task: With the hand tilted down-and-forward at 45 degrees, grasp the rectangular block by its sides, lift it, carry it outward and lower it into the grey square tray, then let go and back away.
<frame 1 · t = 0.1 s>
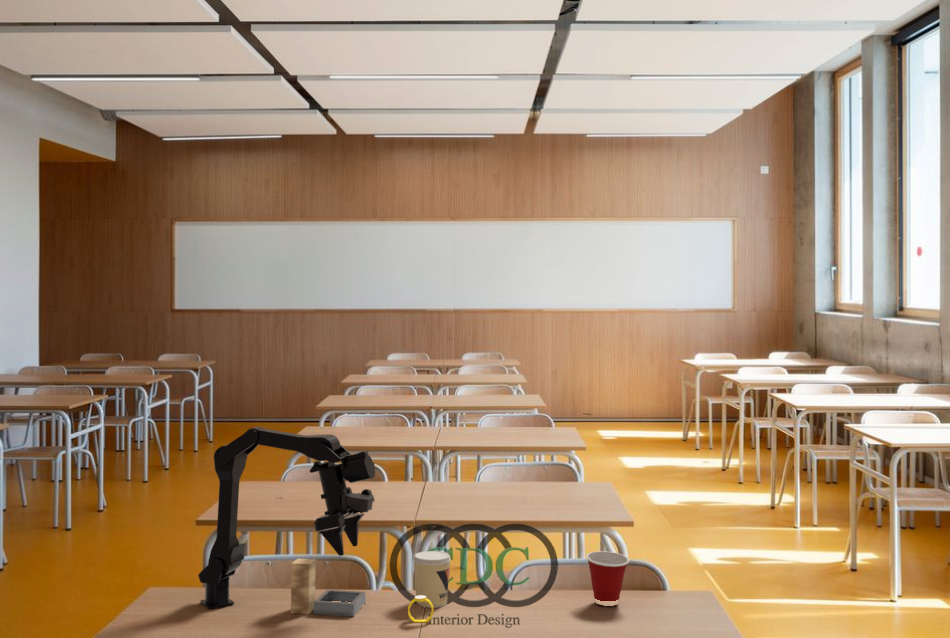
hand: (348, 550, 210), 15 cm above the table, tool pointing down, fingers open, 9 cm apart
rectangular block: (302, 610, 213), on the table
grey square tray: (340, 608, 214), on the table
plastic cup: (607, 604, 221), on the table
coffee cup: (431, 603, 220), on the table
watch: (420, 622, 206), on the table
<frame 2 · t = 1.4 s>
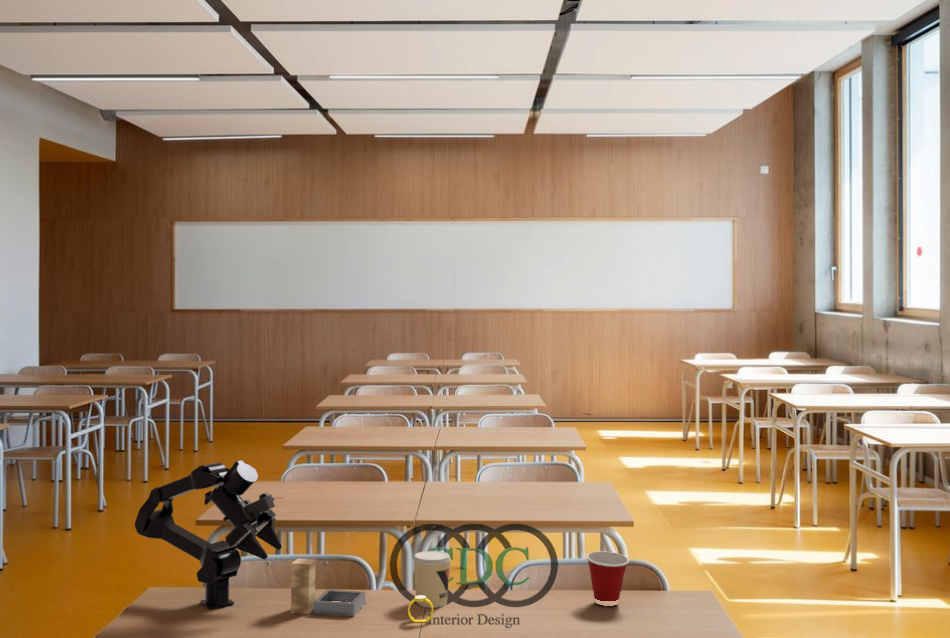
hand: (273, 553, 214), 13 cm above the table, tool tilted 45°, fingers open, 9 cm apart
nothing on the table moved.
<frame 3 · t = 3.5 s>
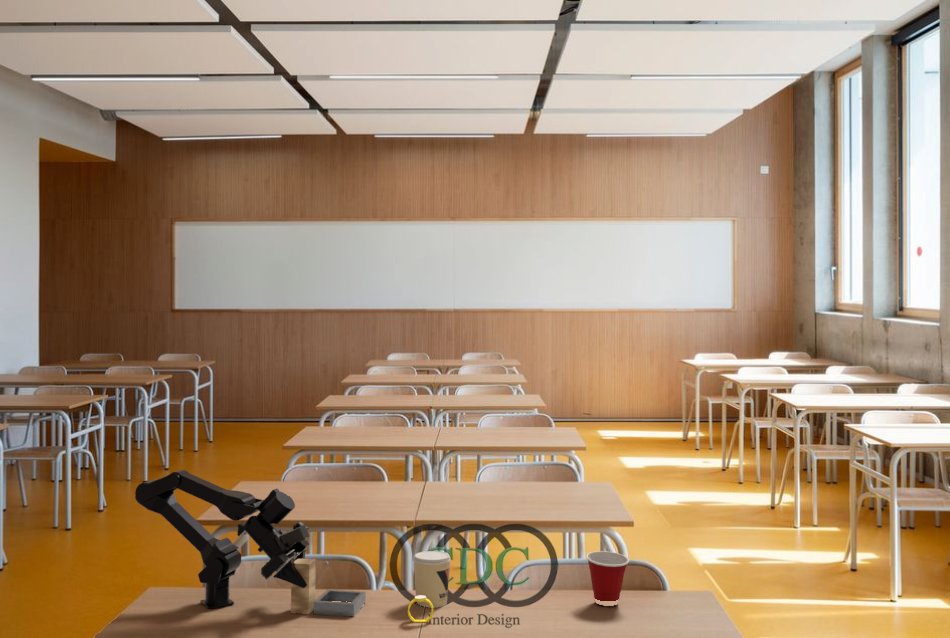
hand: (308, 583, 213), 7 cm above the table, tool tilted 45°, fingers closed on rectangular block, 4 cm apart
rectangular block: (303, 610, 213), on the table, touching gripper
everything else where it was.
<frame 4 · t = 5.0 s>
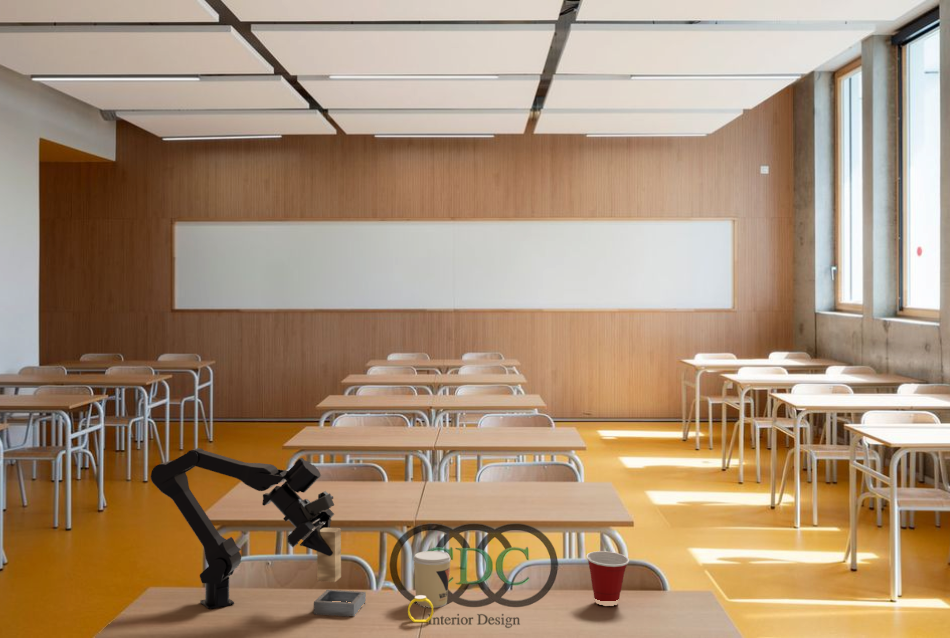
hand: (334, 552, 213), 14 cm above the table, tool tilted 45°, fingers closed on rectangular block, 4 cm apart
rectangular block: (329, 579, 214), point 8 cm above the table, touching gripper
everything else where it was.
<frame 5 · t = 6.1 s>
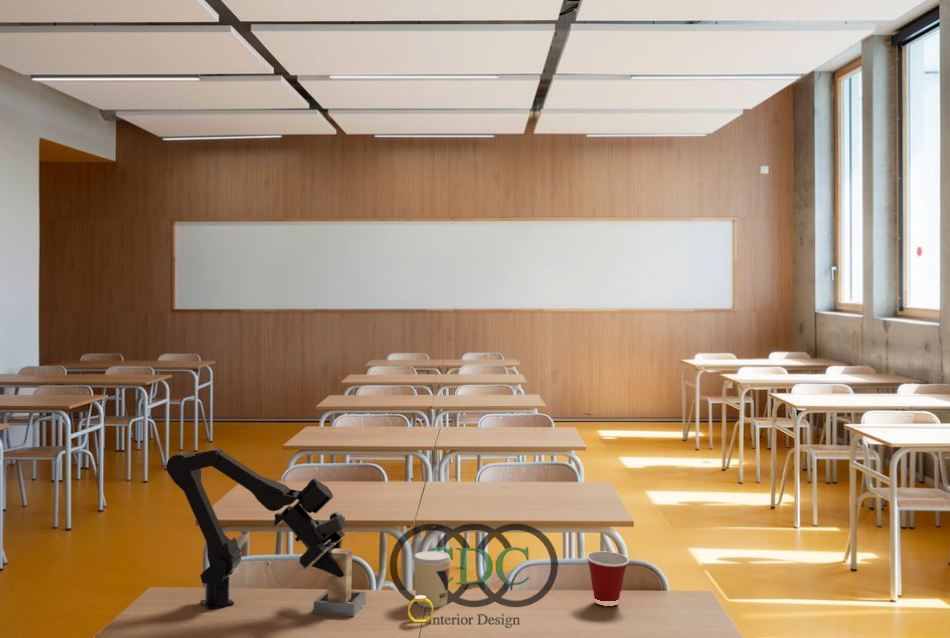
hand: (345, 573, 214), 9 cm above the table, tool tilted 45°, fingers closed on rectangular block, 4 cm apart
rectangular block: (339, 600, 214), point 2 cm above the table, touching gripper
everything else where it was.
when the fingers open (8 cm above the table, at t = 6.6 s): rectangular block drops 1 cm, resting in grey square tray.
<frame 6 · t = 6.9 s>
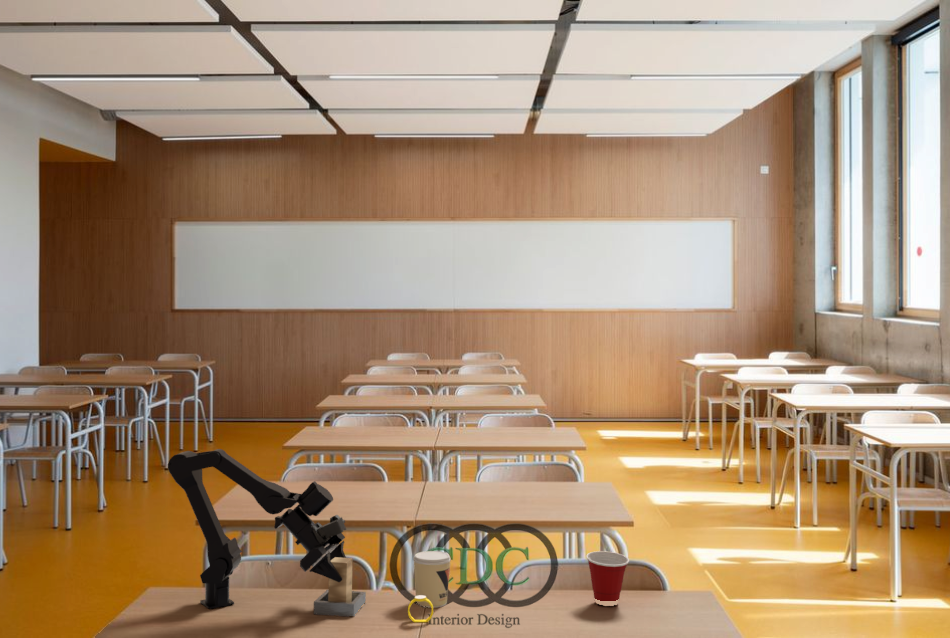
hand: (346, 576, 214), 8 cm above the table, tool tilted 45°, fingers open, 8 cm apart
rectangular block: (340, 609, 214), resting in grey square tray
everything else where it was.
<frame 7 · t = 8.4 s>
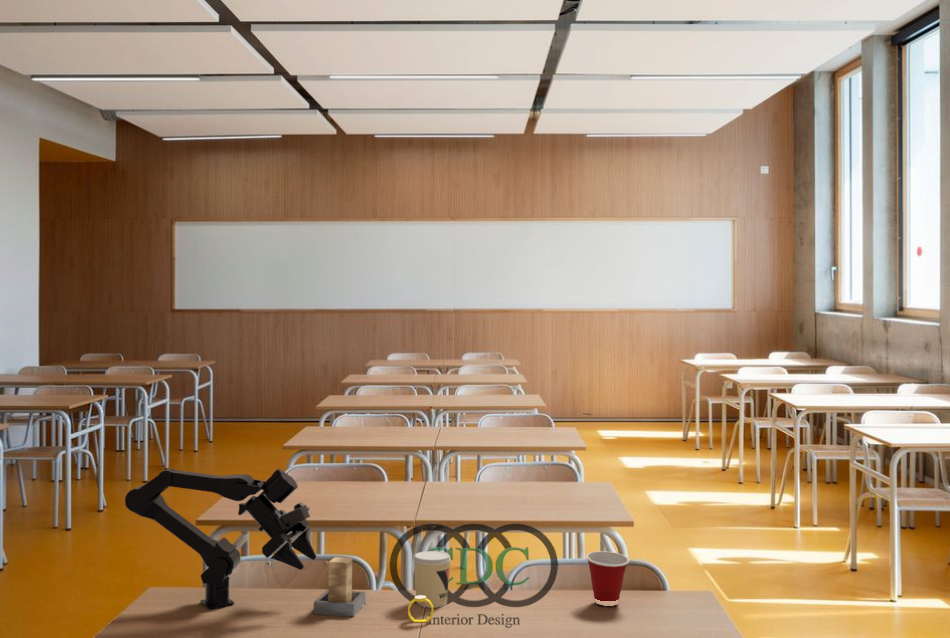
hand: (308, 563, 215), 11 cm above the table, tool tilted 45°, fingers open, 9 cm apart
nothing on the table moved.
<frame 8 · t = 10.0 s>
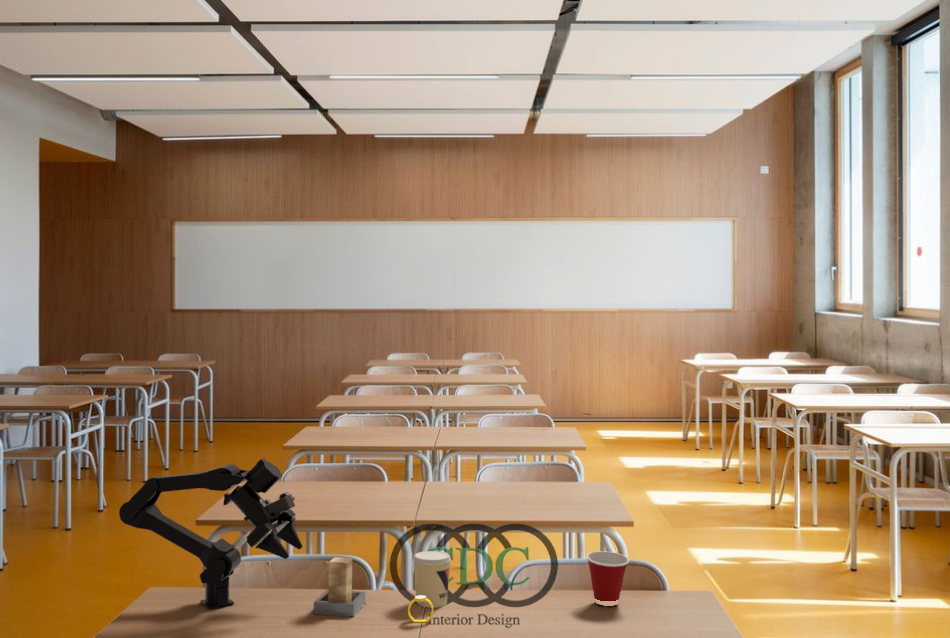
hand: (294, 552, 215), 14 cm above the table, tool tilted 45°, fingers open, 9 cm apart
nothing on the table moved.
at the end: rectangular block 0.0 cm from the grey square tray (horizontally); rectangular block tilted 0°; the gripper is holding nothing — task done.
